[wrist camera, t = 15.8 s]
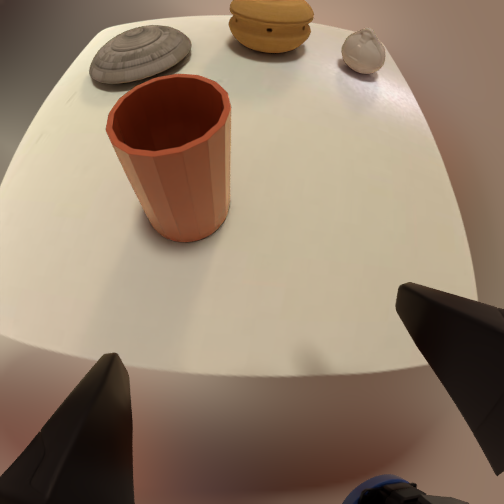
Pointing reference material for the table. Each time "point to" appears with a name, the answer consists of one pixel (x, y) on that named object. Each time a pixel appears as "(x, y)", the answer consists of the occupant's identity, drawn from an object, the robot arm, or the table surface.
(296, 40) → the pot
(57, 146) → the table surface
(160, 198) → the tumbler
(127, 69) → the flying saucer
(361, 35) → the figurine
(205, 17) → the table surface
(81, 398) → the robot arm
